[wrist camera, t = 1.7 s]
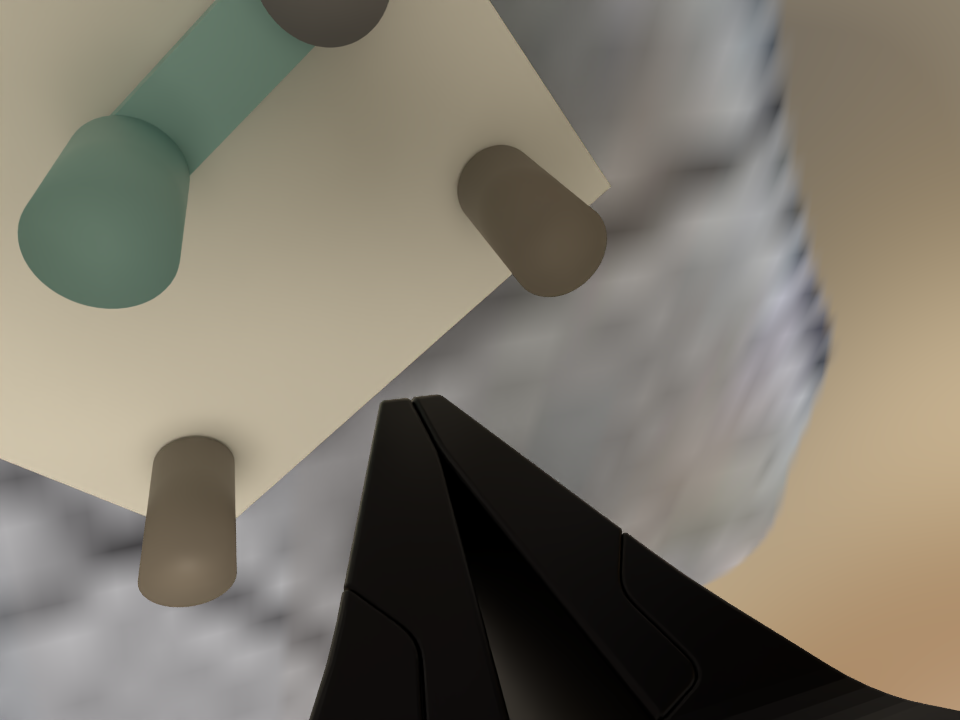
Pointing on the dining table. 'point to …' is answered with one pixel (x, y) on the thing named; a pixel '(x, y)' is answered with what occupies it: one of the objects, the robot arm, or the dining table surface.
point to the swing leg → (167, 147)
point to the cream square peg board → (274, 256)
